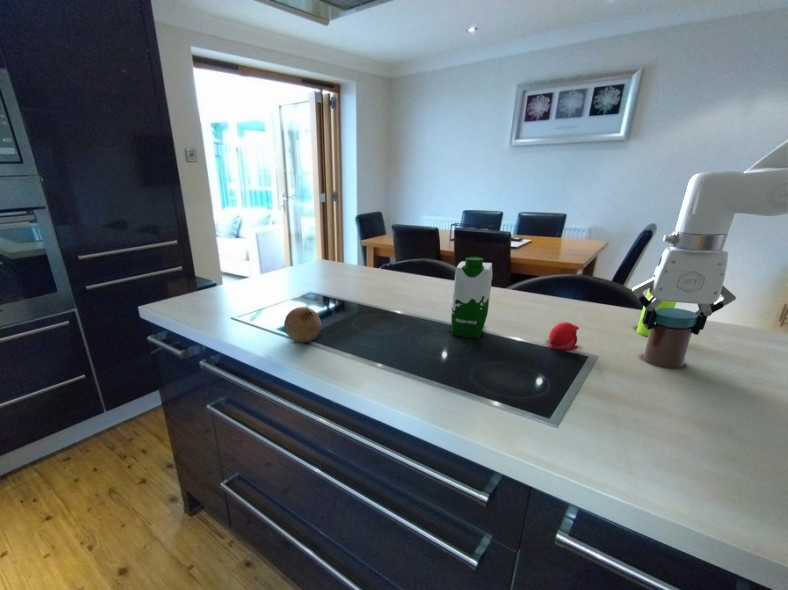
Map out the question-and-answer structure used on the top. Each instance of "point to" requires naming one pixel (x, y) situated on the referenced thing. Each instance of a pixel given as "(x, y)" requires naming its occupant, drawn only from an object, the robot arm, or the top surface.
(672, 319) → the lid
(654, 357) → the jar
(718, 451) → the top surface
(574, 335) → the cap
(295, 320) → the brown round piece
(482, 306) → the milk carton
